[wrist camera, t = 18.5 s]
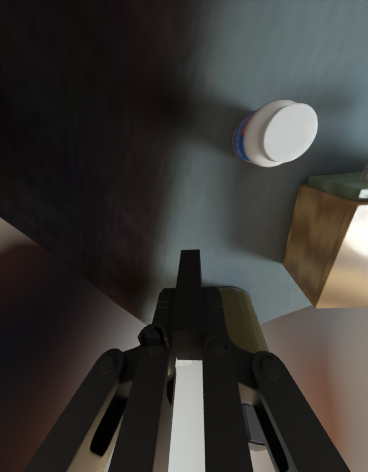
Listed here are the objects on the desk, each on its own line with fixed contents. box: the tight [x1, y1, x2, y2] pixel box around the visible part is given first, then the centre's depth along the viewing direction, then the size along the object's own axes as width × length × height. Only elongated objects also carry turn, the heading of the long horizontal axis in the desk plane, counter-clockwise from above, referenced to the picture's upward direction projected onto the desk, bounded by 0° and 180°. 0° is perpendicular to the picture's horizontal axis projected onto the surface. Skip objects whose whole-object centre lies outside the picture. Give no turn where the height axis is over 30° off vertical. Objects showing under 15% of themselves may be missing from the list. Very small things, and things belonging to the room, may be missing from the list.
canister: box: [218, 287, 269, 451], centre depth 27 cm, size 11×10×20 cm
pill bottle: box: [232, 100, 318, 167], centre depth 17 cm, size 6×5×10 cm
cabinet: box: [282, 184, 368, 308], centre depth 22 cm, size 15×13×10 cm
